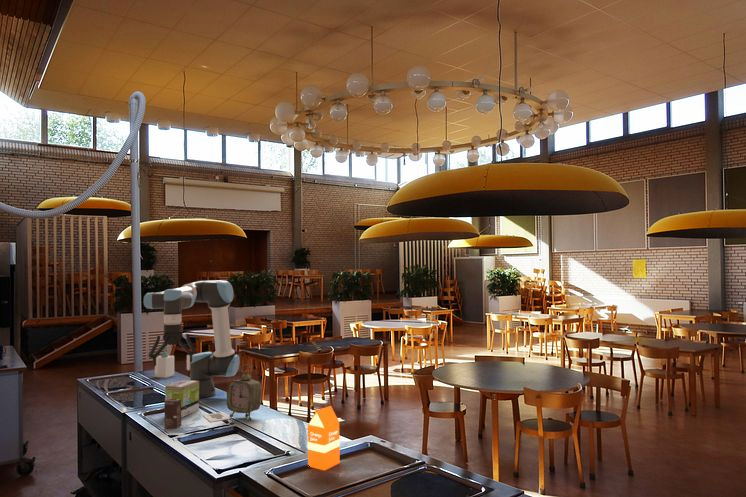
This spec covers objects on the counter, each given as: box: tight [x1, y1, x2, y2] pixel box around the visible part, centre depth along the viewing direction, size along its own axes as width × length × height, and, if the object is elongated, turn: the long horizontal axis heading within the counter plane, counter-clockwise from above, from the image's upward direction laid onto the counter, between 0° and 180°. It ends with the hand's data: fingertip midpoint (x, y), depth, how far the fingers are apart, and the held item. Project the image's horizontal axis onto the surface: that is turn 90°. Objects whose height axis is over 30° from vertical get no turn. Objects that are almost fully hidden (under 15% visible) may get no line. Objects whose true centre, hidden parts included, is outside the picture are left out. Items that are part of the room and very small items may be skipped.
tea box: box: [164, 379, 200, 419], centre depth 268 cm, size 15×10×15 cm, turn 168°
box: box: [164, 399, 182, 429], centre depth 245 cm, size 6×4×12 cm
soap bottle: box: [154, 346, 175, 379], centre depth 359 cm, size 9×9×19 cm
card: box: [202, 411, 232, 423], centre depth 260 cm, size 10×13×1 cm
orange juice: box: [307, 405, 341, 471], centre depth 197 cm, size 8×9×20 cm
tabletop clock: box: [226, 363, 263, 422], centre depth 258 cm, size 14×9×25 cm, turn 64°
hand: (172, 371), depth 246 cm, fingers open, 13 cm apart
